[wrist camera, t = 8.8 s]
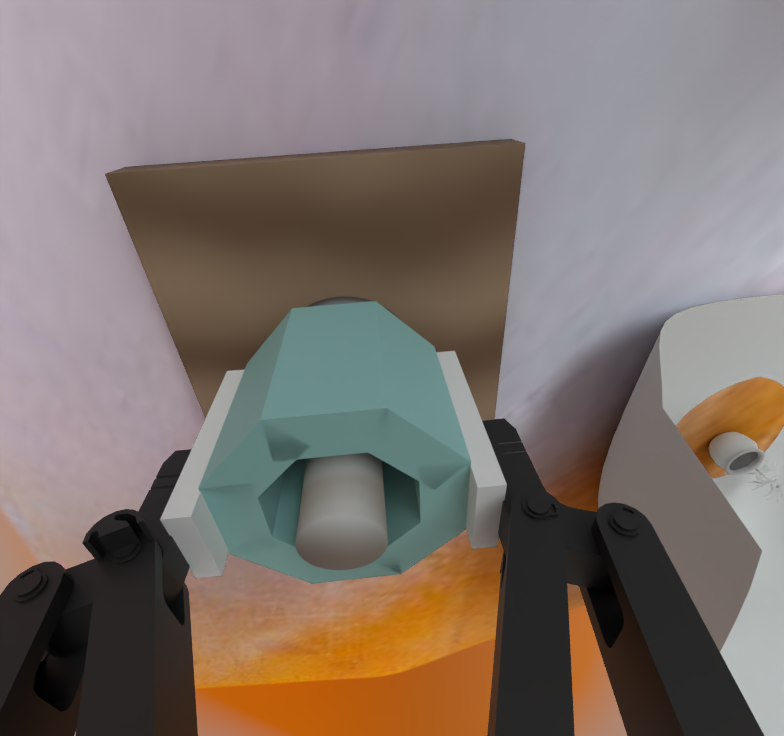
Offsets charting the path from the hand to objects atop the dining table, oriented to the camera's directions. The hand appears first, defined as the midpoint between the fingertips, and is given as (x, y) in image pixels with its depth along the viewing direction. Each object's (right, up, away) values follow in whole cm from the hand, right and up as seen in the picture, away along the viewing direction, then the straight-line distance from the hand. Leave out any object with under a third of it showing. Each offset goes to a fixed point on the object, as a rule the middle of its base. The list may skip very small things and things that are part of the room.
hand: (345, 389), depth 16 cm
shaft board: (0, +2, +3) cm, 4 cm away
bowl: (+22, -3, +9) cm, 24 cm away
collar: (0, 0, 0) cm, 0 cm away
